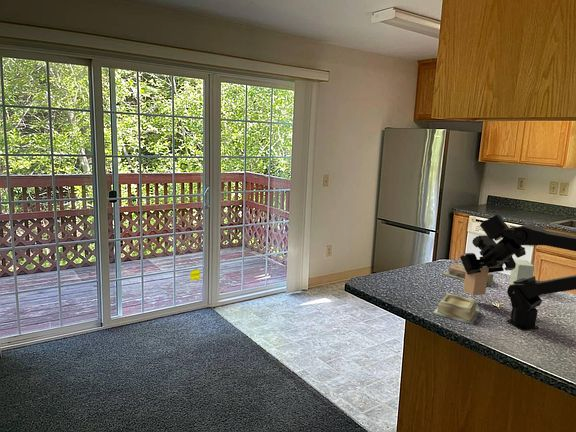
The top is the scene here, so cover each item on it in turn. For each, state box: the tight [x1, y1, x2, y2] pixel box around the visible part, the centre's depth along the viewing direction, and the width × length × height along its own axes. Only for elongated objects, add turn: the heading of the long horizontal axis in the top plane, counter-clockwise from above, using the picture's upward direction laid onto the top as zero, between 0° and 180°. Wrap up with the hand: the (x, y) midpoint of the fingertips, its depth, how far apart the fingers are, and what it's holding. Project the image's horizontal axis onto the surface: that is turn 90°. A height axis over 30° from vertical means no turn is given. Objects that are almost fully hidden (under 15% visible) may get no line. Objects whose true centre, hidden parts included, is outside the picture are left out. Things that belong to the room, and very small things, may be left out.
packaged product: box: [441, 263, 496, 287], centre depth 175 cm, size 18×5×10 cm
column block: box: [463, 266, 489, 296], centre depth 149 cm, size 5×5×11 cm
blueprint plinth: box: [432, 293, 481, 325], centre depth 140 cm, size 12×12×4 cm
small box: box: [508, 258, 535, 286], centre depth 166 cm, size 8×6×10 cm
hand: (473, 272), depth 150 cm, fingers closed on column block, 5 cm apart
